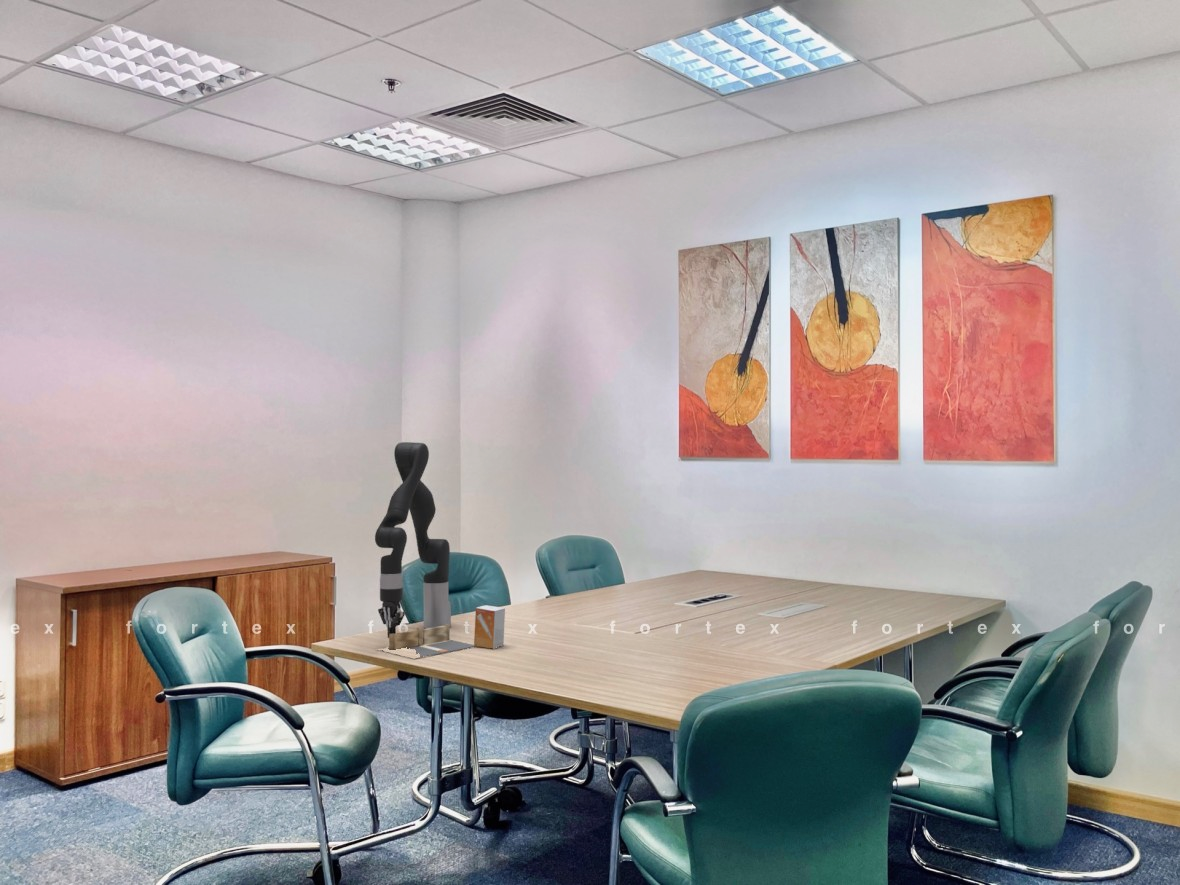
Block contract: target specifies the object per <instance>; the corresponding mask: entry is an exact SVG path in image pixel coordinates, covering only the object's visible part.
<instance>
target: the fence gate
mask: <svg viewBox="0 0 1180 885" xmlns="http://www.w3.org/2000/svg"><path fill="white" fill-rule="evenodd" d="M388 640H389V641H388V642H389V643H388V644H389V646H388V647H389V650H396V649H401V648H406V647H412V646H417V645H418V630H417V629H414V630H408V631H402V632H396V634H394V633H392V634H389V638H388Z"/></svg>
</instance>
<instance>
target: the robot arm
mask: <svg viewBox="0 0 1180 885" xmlns="http://www.w3.org/2000/svg"><path fill="white" fill-rule="evenodd" d="M429 452H430V451H429V447H428V445H427V444H426V443H423V442H414V441H413V442H411V441H409V442H408V441H407V442H406V441H405V442H404V441H402V442H398V443H397V444H396V445H395V448H394V453H393V454H394V461H395V466H396V467H397V471H398V473H399V477H400V478H401V481H402V483H401V484H400V485H399V486H398V487H397V488H396V490H395V491H394V492H393V494H392V495H391V497H390V500H389V503H388V507H387V511H386V513H385V515H384V517H383V519H382V521H381V523H380V524H379V526H378V528H376V532H375V534H374V541H375V542H374V543H375V545H376V546H377V547H379V548H381V549H392V550H391V553H390V554H386V555H383V556H381V557H380V576H379V600H380V602H382V606H381V608H378V609H377V611H378V614H379V616H380V619H381V621H382V624H383V625H386V626H385V627H386V628H387V630H386V631H387V639H389V634H392V633H394V634H396V633H397V631H396V629H397V627H398V626H400V625H401V624H402V622H403V619H404V617H405V616H406V613H405V611H402V610H401V609H402V608H401V601H403V599H404V596H403V595H404V593H403V592H404V590H403V589H404V588H403V587H404V586H403V571H402V566H403V565H402V564H403V562H402V561H403V557H404V552H405V548H406V546H407V541H408V536H407V533H406V532H407V531H406V530H405V529H404V528H402V527H399V525H402V524H404V523H406V522H407V519H408V516H409V513H410V517H411V520H412V524H413V528H414V532H415V538H416V546H417V553H418V558H419V559H420V561H421V563H422V564H429V565H430V564H433V565H435V564H437V566H436V569H434V570H432V571H430V572H427V573H425V574H424V575H423V578H422V580H423V582H422V583H423V629H424V628H425V629H428V628H434V627H439V626H444V624H449V628H451V627H452V620H451V619H452V612H451V611H452V607H451V606H452V602H451V601H449V577H450V576H449V574H450V557H451V556H450V553H451V551H450V550H451V548H450V543H449V541H448V540H447V539H445V538H430V537H429V535H428V529H429V527H430V525H431V523H432V521H433V520H434V518H435V515H436V510H437V509H436V505H435V501H434V496H433V493H432V492H431V490H430V489H429V488H428V486H426V485H425V483H424V482H422V480H421V479H422V477H423V476H424V475H423V474H424V473H425V470H426V467H427V465H428V463H429V462H428V461H429V459H430V458H429V456H430V453H429ZM397 526H398V527H397Z"/></svg>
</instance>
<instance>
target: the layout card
mask: <svg viewBox="0 0 1180 885" xmlns="http://www.w3.org/2000/svg"><path fill="white" fill-rule="evenodd" d="M471 647H474V648H477V647H476V645H474V644H471V643H467V642H462V641H458V640H453V639H449V641H443V642H437V643H432V644H427V645H423V646H412V647H407V649H409V648H410V649H415V650H416V654H418V653H419V654H420V657H423V656H429V655H434V656H436V655H435V654H439V655H443V654H442V653H444V654H448V653H447V652H449V653H453V651H454V652H458V651H459V652H460V651H463V649H464V650H468V649H467V648H469V649H472V648H471ZM388 649H389V648H388ZM429 657H430V656H429Z"/></svg>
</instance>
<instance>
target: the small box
mask: <svg viewBox="0 0 1180 885" xmlns="http://www.w3.org/2000/svg"><path fill="white" fill-rule="evenodd" d="M505 618H506V607H499V606H496V605H494V606H493V605H487V604H486V605H481V606H477V607H475V619H474V620H475V621H474V638H473V639H474V640H473V645H476V646H477V647H482V648H487V649H490V648H495V649H497V648H496V647H498V648H500V647H499V646H501V647H503V646H504V641H505V640H504V639H505V622H506V621H505ZM502 645H503V646H502Z"/></svg>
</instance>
